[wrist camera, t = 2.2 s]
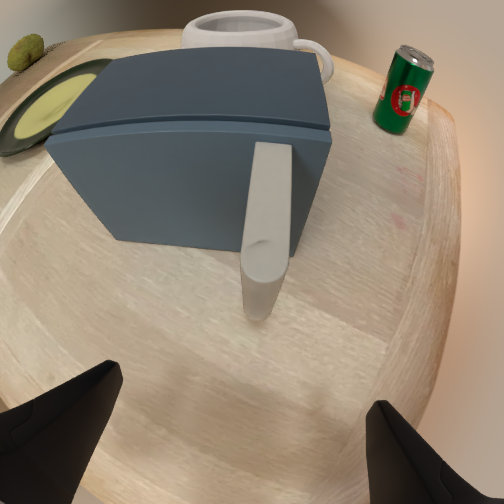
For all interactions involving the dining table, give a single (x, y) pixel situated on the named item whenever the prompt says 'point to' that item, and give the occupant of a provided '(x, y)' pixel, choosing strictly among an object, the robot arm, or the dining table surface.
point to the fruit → (25, 52)
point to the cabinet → (204, 89)
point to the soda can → (403, 89)
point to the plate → (46, 107)
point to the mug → (251, 34)
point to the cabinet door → (202, 189)
